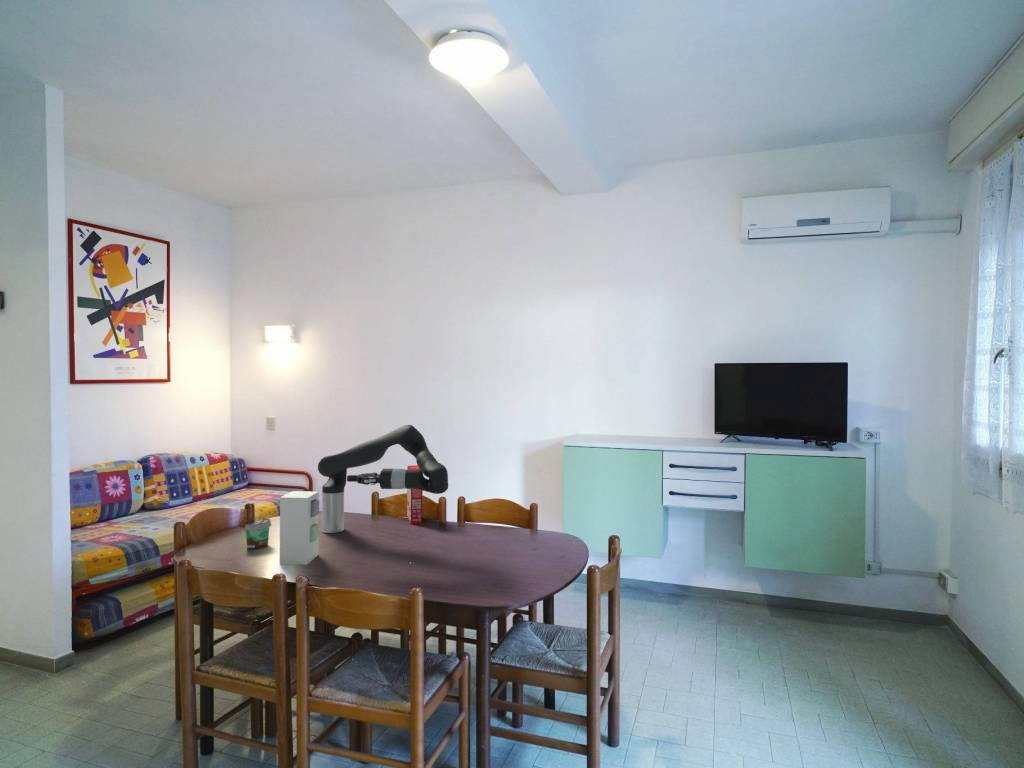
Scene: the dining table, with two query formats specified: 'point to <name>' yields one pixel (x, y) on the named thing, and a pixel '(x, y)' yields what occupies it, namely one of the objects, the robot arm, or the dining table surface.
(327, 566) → the dining table surface
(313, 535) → the sage key
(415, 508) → the food packaging
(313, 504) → the grey square block
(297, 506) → the key tower
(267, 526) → the food container
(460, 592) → the dining table surface
